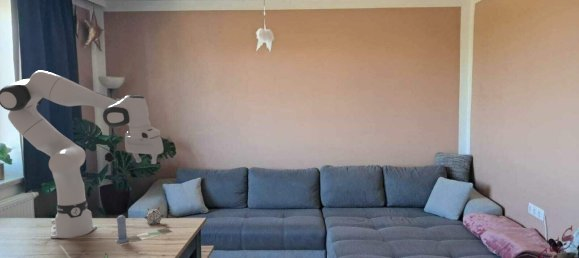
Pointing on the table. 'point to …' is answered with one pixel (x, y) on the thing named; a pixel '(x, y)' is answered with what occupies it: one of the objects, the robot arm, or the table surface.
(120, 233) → the pawn
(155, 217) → the game die
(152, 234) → the track
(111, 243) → the table surface
